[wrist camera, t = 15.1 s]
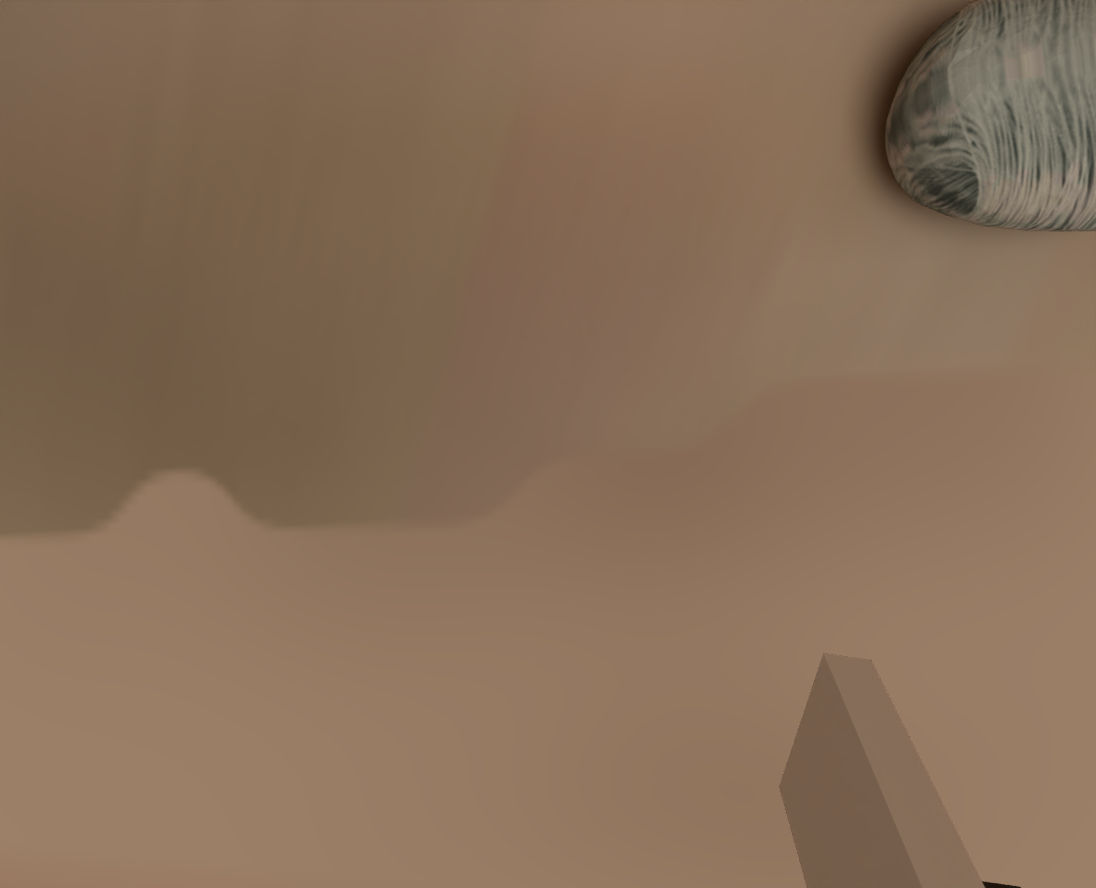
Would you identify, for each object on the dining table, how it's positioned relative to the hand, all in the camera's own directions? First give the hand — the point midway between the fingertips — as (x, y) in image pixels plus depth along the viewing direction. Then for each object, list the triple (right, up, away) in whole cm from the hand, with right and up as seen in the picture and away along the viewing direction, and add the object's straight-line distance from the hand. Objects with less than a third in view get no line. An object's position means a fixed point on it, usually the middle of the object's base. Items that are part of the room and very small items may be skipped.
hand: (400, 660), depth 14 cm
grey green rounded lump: (+23, +18, +23) cm, 37 cm away
